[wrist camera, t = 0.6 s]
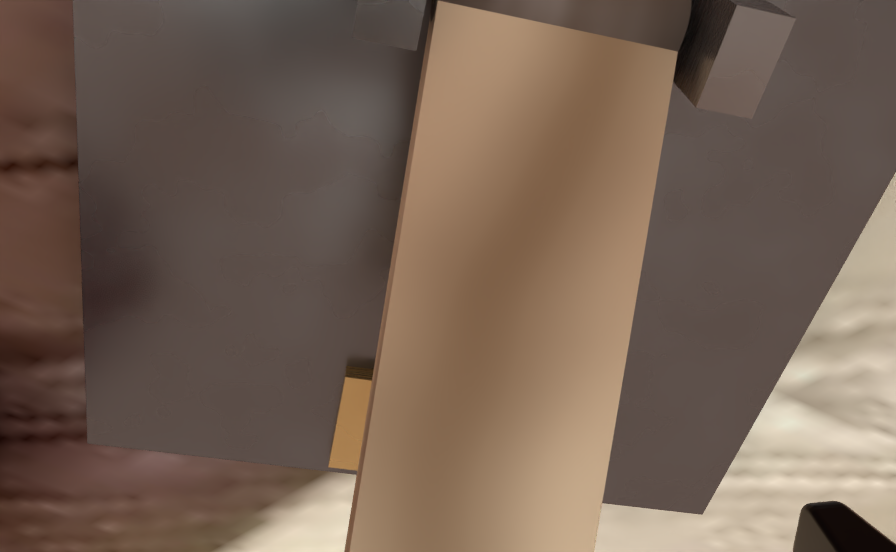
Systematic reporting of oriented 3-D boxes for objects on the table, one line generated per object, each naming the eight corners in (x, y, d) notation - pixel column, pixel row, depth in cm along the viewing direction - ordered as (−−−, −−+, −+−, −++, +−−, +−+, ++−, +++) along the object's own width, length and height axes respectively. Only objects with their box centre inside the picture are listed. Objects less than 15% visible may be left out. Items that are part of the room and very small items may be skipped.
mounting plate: (981, -40, 18) (1120, 3, 15) (693, 492, 28) (736, 597, 24) (82, -264, 15) (-15, -276, 12) (98, 420, 24) (46, 529, 21)
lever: (660, -3, 17) (697, -31, 16) (543, 694, 18) (567, 744, 16) (439, -52, 17) (453, -87, 15) (323, 677, 17) (322, 729, 15)
